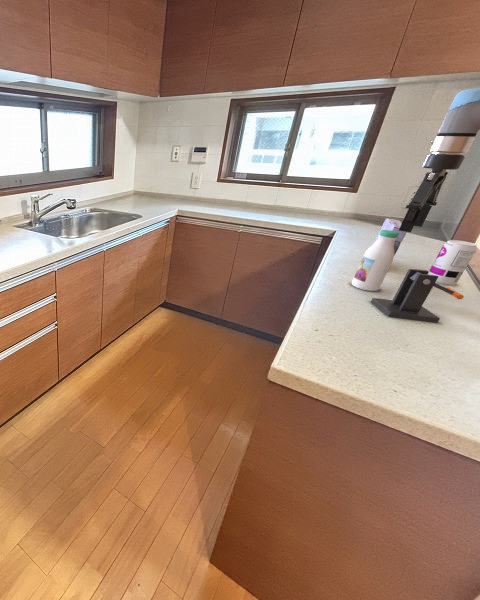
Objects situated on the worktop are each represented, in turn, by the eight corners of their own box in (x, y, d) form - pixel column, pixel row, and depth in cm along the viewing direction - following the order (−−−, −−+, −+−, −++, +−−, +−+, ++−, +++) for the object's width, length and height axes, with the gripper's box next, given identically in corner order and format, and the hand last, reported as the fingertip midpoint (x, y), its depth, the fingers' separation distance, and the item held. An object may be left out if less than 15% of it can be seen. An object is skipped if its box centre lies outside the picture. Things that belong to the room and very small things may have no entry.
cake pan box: (388, 272, 128) (409, 228, 120) (372, 269, 131) (392, 226, 123) (380, 259, 143) (399, 219, 135) (366, 257, 145) (383, 217, 137)
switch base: (415, 307, 101) (436, 268, 95) (437, 322, 92) (462, 281, 86) (370, 301, 103) (388, 264, 98) (388, 316, 95) (409, 276, 89)
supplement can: (424, 280, 121) (445, 241, 114) (426, 275, 126) (446, 238, 119) (454, 287, 116) (479, 247, 109) (455, 282, 121) (479, 243, 114)
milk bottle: (377, 286, 115) (403, 230, 106) (379, 293, 109) (408, 235, 100) (350, 281, 119) (373, 227, 110) (351, 287, 113) (376, 231, 104)
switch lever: (445, 294, 95) (453, 287, 94) (458, 301, 91) (466, 294, 89) (406, 276, 96) (413, 269, 94) (417, 282, 91) (425, 275, 90)
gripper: (437, 153, 100) (405, 221, 110) (418, 153, 87) (383, 230, 97) (473, 154, 95) (435, 226, 104) (457, 154, 82) (416, 236, 91)
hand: (410, 228), depth 101 cm, fingers open, 13 cm apart
